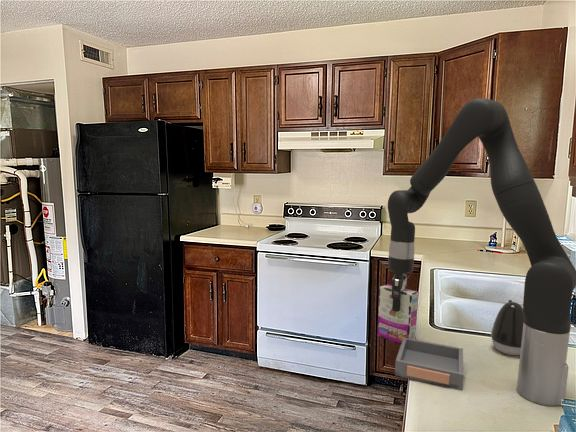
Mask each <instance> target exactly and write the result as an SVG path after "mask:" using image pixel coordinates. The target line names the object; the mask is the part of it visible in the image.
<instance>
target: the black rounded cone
mask: <svg viewBox="0 0 576 432" xmlns="http://www.w3.org/2000/svg"><path fill="white" fill-rule="evenodd" d="M523 323H524V313H523V305H521V304H519V302H517V301H513V300H512V299H508V302H506V303H504V304H503V305H502V306H501V308H500V309H499V311H498V313H497V314H496V317H495V319H494V322H493V325H492V328H491V332H490V338H491V341H492V344H493V346H494V347H495V348H496V350H498V351H499V352H501V353H502V354H505V355H508V356H520V352H521V343H522V333H523Z"/></svg>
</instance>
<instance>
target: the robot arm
mask: <svg viewBox="0 0 576 432" xmlns="http://www.w3.org/2000/svg"><path fill="white" fill-rule="evenodd" d="M509 118H510V117H509V115H508V112H507V109H506V108H505V106H504V105H503V104H502V103H500V102H498V101H497V100H493V99H490V98H479V97H478V98H474V99H471V100H469V101H468V102H467V103H465V104H464V105H463V106H462V108H461V109H460V110H459V112H458V113H457V115H456V116H455V118H454V120H453V122H452V123H451V125H450V126H449V127H448V129H447V131H446V133H445V134H444V135H443V137H442V139H440V140H439V141H440V142H439V143H438V144H437V145H436V147H435V148H434V150H433V151H432V152H431V153H430V155H429V156H428V157H427V158H426V159H425V160H424V161H423V163H422V164H421V165H420V166H419V167H418V169H417V170H416V171H415V172H414V173H413V175H412V176H411V177H410V179H409V184H410V187H409V188H408V189H407V190H406V189H404V190H403V189H399V190H398V189H397V190H394V191H393V192H391V194H390V195H389V197H388V200H387V212H388V218H389V222H390V227H391V228H390V229H391V230H390V242H389V247H388V260H387V270H389V271H390V272H394V274H393V276H392V280H391V282H392V284H391V285H392V295H391V298H392V299H393V304H392V310H393V311H396V312H399V311H400V302H401V294H402V293H403V292H404V288H405V289H407V288H406V287H407V280H408V276H407V275H408V274H410V273H412V272H413V271H414V265H415V263H414V261H415V239H416V238H415V237H416V226H415V223H413V222H411V221H409V215H408V214H412V213H416V212H417V211H419V210H420V209H421V208H422V207H424V205H425V203H426V202H427V200H428V198H429V196H430V194H431V192H432V191H433V190H434V189H436V187H437V186H438V185H439V184H440V183H441V182H442V181H443V180H444V179H445V177H446V176H447V175H448V173H449V172H450V170H451V169H452V167H453V164H454V162H455V160H456V159H457V157H458V156H459V154H460V153H461V152H462V151H463V150H464V149H465V148H466V147H467V146H468V145H469V144H470V143H472V142H473V141H474V140H475V139H476V138H478V139H479V140H480V142H481V144H482V147H483V148H484V150H485V152H486V155H487V158H488V161H489V162H488V163H489V173H490V175H489V177H490V184H491V191H492V194H493V196H494V198H495V201H496V203H497V205H498V208H499V210H500V212H501V214H502V216H503V217H504V219H505V221H506V222H507V223H508V225H509V226H510V227H511V229H512V230H513V231H514V232H515V234H516V235H517V236H518V238H519V240H520V241H521V243H522V244H523V246H524V250H525V251H526V254H527V257H528V259H529V263H530V267H529V269H528V270H527V272H526V275H525V280H524V286H523V287H524V288H523V289H524V290H523V302H522V308H523V313H524V323H523V333H522V343H521V352H520V355H519V363H518V364H519V365H518V373H517V380H516V381H517V382H516V391H517V392H518V394H519V395H520V396H521V397H523V398H525V399H526V400H528V401H530V402H532V403H535V404H539V405H543V406H553V407H554V406H561V399H566V391H567V383H568V375H569V365H568V364H567V363H568V362H567V359H568V351H569V341H570V333H571V327H572V320H571V308H572V307H571V306H572V299H573V291H574V290H575V289H576V268H575V266H574V264H573V262H572V261H571V260H570V257H569V256H568V255H567V253H566V251H565V249H564V248H563V246H562V244H561V243H560V241H559V239H558V237H557V235H556V232H555V229H554V226H553V224H552V221H551V218H550V216H549V213H548V211H547V207H546V205H545V202H544V200H543V198H542V195H541V192H540V191H539V188H538V186H537V183H536V181H535V179H534V177H533V175H532V173H531V171H530V169H529V167H528V165H527V162H526V160H525V157H524V156H523V153H522V152H521V150H520V148H519V145H518V144H517V141H516V138H515V135H514V132H513V128H512V125H511V122H510V119H509ZM395 292H399V294H398V295H395Z"/></svg>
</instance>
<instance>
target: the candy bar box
mask: <svg viewBox="0 0 576 432" xmlns="http://www.w3.org/2000/svg"><path fill="white" fill-rule="evenodd" d="M378 294H379V295H378V297H379V298H378V312H377V313H378V314H377V317H378V318H377V331H376V332H377V333H376V336H377V337H380V338H382V339H384V340H387V341H390V342H392V343H396V344H398V345H401V344H402V341H403V338H410V339H415V340H417V327H418V326H417V323H418V322H417V321H418V307H419V294H420V293H419V291H417V290H413V289H410V288H409V289H408V288H404V292H403V293H402V294H401V302H400V311H399V312H396V311H393V310H392V304H393V299H392V298H391V295H392V284H389V283H387V284H384V285H381V286H379V293H378ZM398 294H399V292H395V295H398Z"/></svg>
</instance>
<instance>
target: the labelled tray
mask: <svg viewBox="0 0 576 432" xmlns="http://www.w3.org/2000/svg"><path fill="white" fill-rule="evenodd" d="M394 376H396V377H402V378H404V379H409V380H413V381H419V382H423V383H426V384H432V385H437V386H440V387H446V388H449V389H453V390H459V391H462V390H463V380H464V348H463V347H457V346H451V345H446V344H441V343H436V342H430V341H424V340H421V339H416V340H415V339H410V338H403V341H402V344H400V347H399V350H398V353H397V355H396V359H395V363H394Z"/></svg>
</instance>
